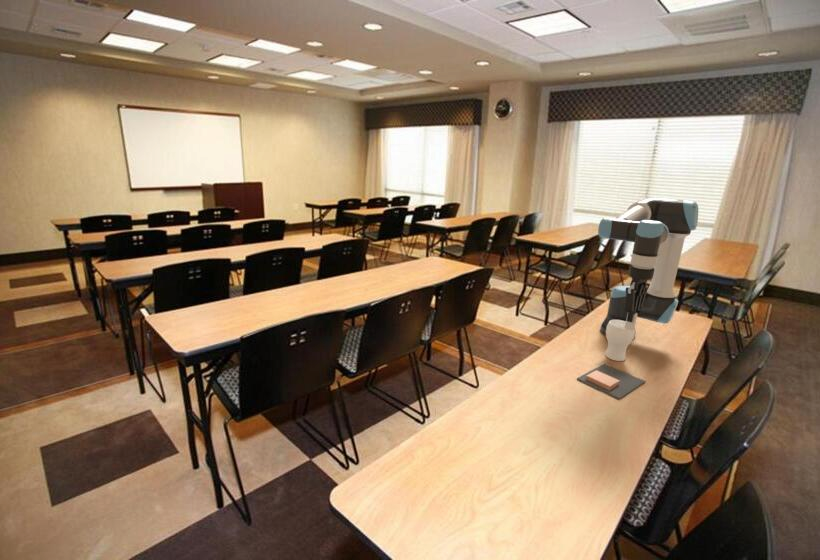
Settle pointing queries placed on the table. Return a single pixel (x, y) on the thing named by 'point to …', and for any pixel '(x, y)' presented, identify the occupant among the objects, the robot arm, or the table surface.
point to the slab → (602, 380)
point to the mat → (626, 380)
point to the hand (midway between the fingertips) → (629, 329)
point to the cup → (618, 339)
